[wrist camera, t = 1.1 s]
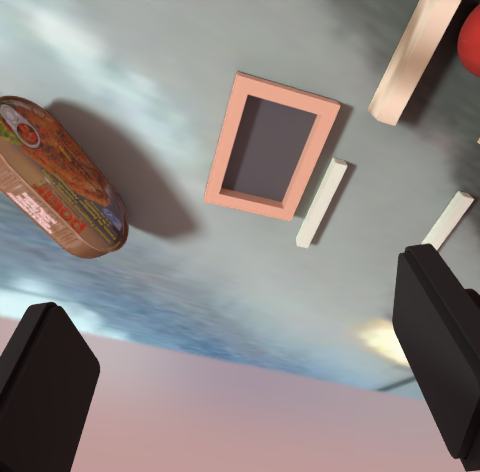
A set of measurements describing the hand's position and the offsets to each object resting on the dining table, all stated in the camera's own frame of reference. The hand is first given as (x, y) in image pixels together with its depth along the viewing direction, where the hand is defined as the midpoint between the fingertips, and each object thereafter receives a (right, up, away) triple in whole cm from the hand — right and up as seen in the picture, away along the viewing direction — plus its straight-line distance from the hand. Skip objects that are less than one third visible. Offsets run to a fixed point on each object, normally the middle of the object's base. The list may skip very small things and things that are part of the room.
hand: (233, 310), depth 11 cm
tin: (-15, +9, +25) cm, 31 cm away
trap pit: (+3, +10, +25) cm, 27 cm away
